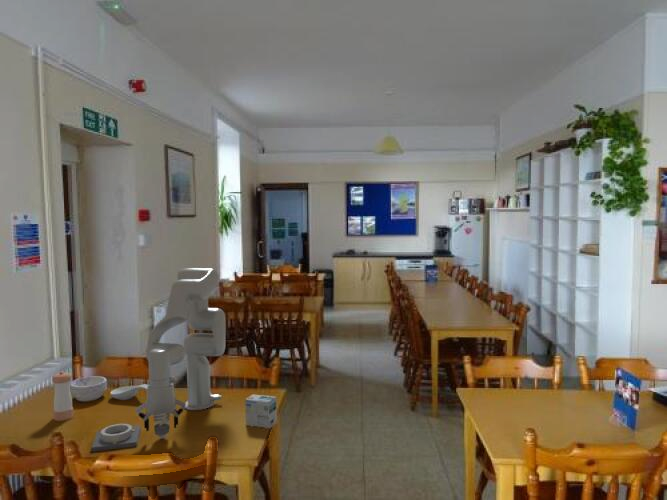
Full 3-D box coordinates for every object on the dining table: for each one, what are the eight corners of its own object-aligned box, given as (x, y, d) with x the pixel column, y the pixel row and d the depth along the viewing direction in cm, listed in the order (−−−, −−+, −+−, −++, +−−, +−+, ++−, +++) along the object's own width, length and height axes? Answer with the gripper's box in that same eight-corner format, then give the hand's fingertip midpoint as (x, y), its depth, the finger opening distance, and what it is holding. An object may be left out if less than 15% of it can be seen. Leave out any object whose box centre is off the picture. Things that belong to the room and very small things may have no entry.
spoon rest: (104, 400, 233) (103, 385, 233) (123, 392, 244) (123, 377, 244) (147, 407, 225) (146, 390, 224) (165, 398, 236) (164, 382, 235)
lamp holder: (140, 429, 201) (140, 419, 200) (136, 446, 186) (136, 435, 186) (98, 434, 197) (97, 424, 196) (91, 451, 182) (90, 440, 182)
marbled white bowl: (98, 404, 229) (97, 386, 228) (63, 404, 229) (62, 386, 228) (113, 392, 244) (112, 375, 243) (81, 392, 244) (80, 375, 244)
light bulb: (156, 436, 194) (155, 404, 194) (171, 435, 195) (170, 404, 194) (152, 442, 189) (151, 410, 188) (168, 442, 189) (167, 409, 188)
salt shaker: (77, 415, 216) (75, 370, 214) (61, 422, 209) (59, 375, 208) (65, 413, 219) (63, 368, 217) (49, 419, 212) (47, 373, 211)
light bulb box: (277, 422, 206) (277, 396, 205) (270, 429, 199) (269, 401, 199) (253, 419, 209) (252, 393, 209) (245, 426, 203) (244, 399, 202)
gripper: (184, 377, 196) (186, 421, 197) (136, 381, 192) (137, 427, 193) (184, 383, 189) (186, 429, 190) (134, 388, 184) (135, 435, 185)
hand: (161, 428), depth 191 cm, fingers open, 9 cm apart
